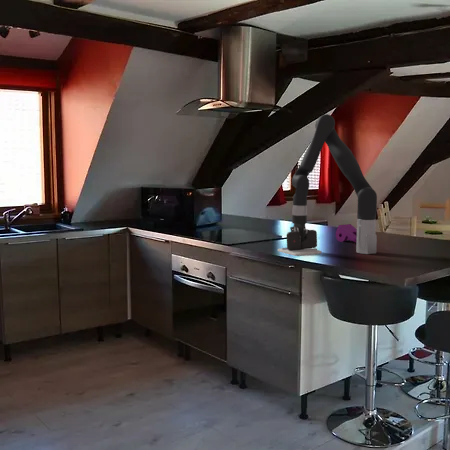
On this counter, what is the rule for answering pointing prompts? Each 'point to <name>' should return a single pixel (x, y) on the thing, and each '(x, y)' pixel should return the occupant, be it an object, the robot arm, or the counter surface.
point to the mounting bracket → (346, 233)
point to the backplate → (300, 252)
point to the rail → (301, 250)
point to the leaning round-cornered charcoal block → (295, 242)
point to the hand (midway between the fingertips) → (299, 247)
